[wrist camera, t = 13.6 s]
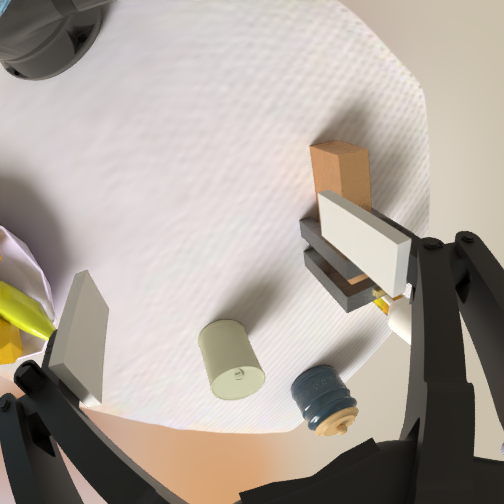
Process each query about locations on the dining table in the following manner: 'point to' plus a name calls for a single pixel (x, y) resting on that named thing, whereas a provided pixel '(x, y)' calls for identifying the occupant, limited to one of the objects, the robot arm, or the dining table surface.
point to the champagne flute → (399, 317)
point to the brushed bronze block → (342, 175)
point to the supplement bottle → (384, 305)
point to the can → (230, 360)
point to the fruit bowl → (22, 302)
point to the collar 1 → (331, 247)
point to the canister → (324, 401)
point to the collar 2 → (342, 283)
